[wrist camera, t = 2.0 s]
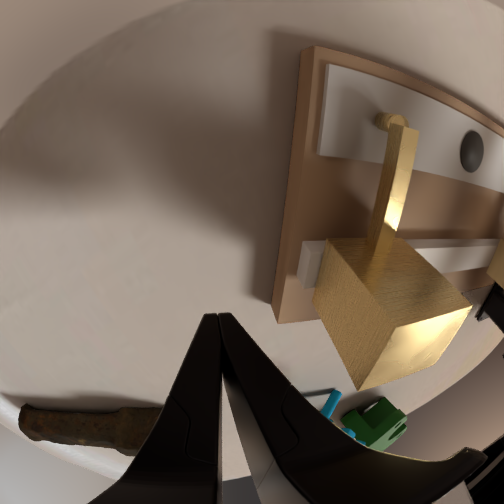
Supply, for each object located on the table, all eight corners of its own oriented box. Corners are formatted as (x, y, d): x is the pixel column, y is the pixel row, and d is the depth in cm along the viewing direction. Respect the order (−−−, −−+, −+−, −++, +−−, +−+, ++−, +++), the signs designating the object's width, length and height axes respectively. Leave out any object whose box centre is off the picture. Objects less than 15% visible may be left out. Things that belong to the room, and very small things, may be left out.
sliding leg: (418, 122, 9) (525, 161, 5) (375, 286, 14) (434, 364, 9) (340, 101, 9) (463, 124, 4) (307, 293, 13) (357, 391, 8)
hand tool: (42, 417, 20) (36, 450, 16) (21, 399, 18) (13, 434, 14) (191, 417, 22) (196, 461, 18) (177, 399, 20) (181, 449, 16)
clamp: (369, 390, 35) (403, 429, 30) (338, 415, 34) (373, 455, 29) (382, 386, 25) (427, 438, 20) (340, 421, 25) (386, 474, 20)
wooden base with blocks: (523, 149, 13) (586, 183, 7) (483, 275, 20) (530, 322, 13) (300, 50, 9) (433, 14, 3) (271, 305, 16) (313, 424, 9)
